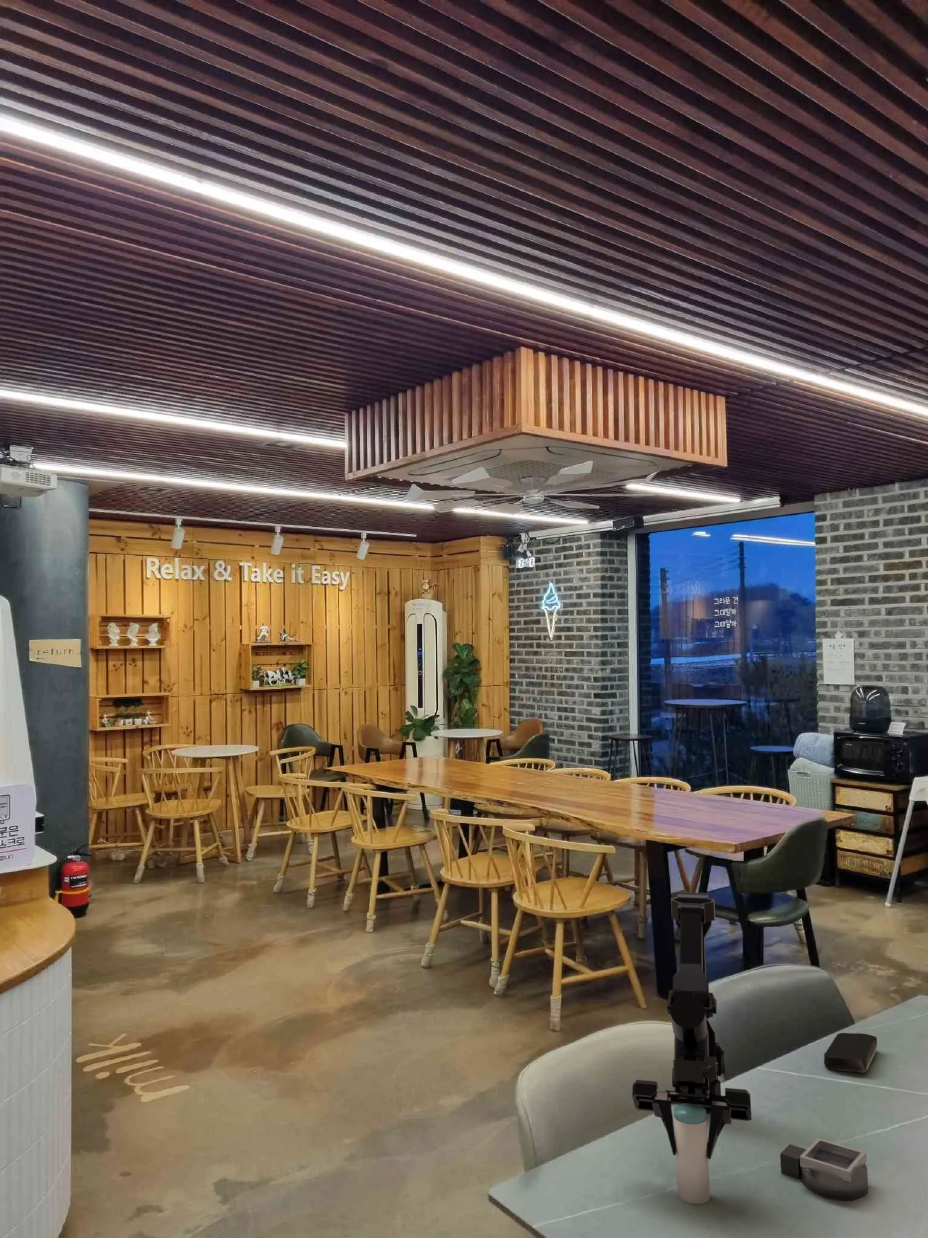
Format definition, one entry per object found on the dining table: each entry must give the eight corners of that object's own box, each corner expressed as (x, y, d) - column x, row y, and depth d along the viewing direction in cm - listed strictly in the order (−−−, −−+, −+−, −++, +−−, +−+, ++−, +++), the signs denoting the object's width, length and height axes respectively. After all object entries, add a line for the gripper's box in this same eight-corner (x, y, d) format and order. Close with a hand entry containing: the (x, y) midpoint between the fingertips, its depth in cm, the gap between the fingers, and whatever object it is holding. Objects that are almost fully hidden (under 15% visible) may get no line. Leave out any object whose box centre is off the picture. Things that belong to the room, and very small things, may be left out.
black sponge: (866, 1080, 187) (865, 1061, 187) (822, 1071, 191) (821, 1053, 192) (879, 1052, 201) (878, 1035, 201) (838, 1045, 205) (837, 1028, 205)
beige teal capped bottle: (671, 1197, 146) (668, 1112, 147) (687, 1183, 149) (683, 1100, 150) (701, 1208, 142) (697, 1121, 143) (715, 1194, 146) (711, 1109, 147)
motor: (773, 1180, 150) (772, 1151, 150) (797, 1155, 157) (796, 1128, 158) (856, 1208, 141) (854, 1177, 142) (877, 1181, 149) (875, 1152, 149)
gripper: (631, 1030, 154) (626, 1129, 143) (747, 1039, 149) (752, 1143, 138) (637, 1060, 161) (633, 1157, 150) (749, 1069, 156) (753, 1171, 144)
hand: (691, 1156), depth 145 cm, fingers closed on beige teal capped bottle, 5 cm apart
